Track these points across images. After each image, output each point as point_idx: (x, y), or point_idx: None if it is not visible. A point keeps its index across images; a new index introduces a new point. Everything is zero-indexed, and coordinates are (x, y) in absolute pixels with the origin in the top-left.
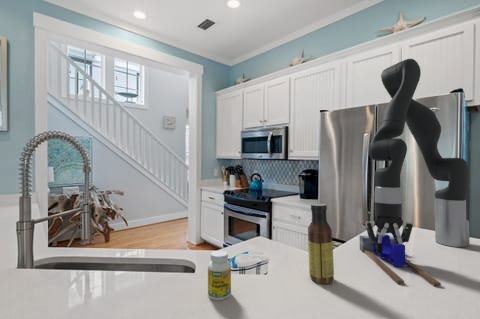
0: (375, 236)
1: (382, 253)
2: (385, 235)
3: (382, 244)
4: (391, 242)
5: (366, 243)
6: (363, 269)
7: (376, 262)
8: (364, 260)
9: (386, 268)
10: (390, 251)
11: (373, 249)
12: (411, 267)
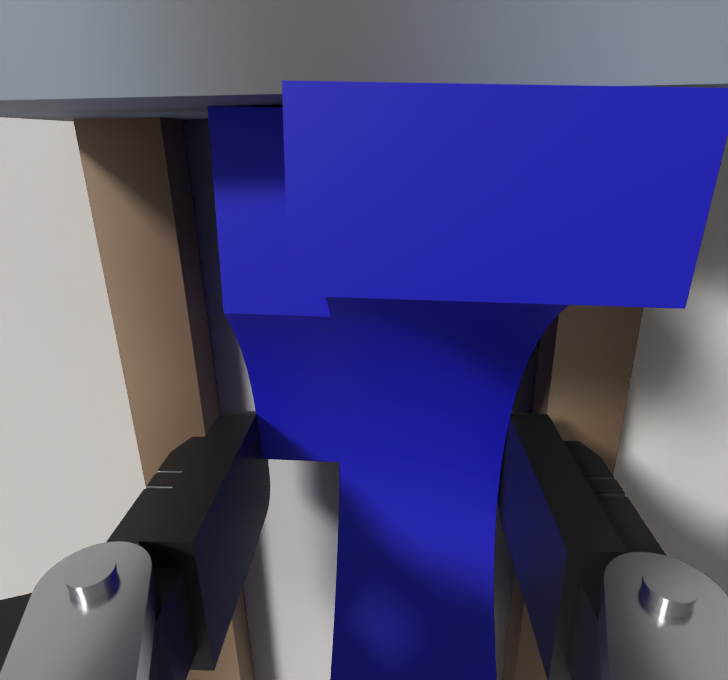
0: (9, 654)
1: (263, 519)
2: (521, 274)
3: (355, 309)
4: None
5: (35, 112)
6: None
7: None
8: (61, 455)
9: None
10: (451, 405)
11: None
12: (511, 658)
